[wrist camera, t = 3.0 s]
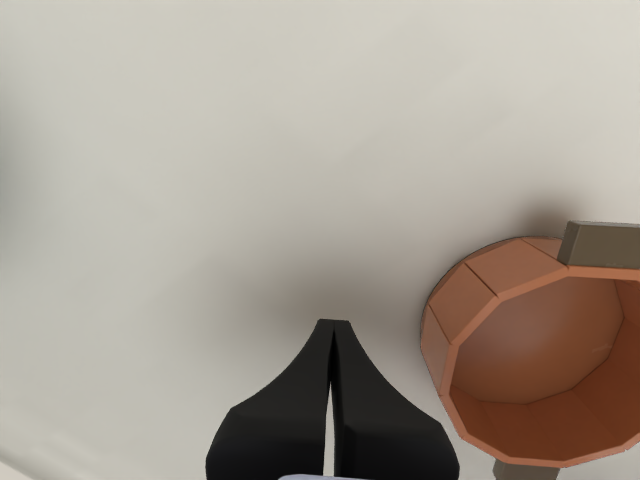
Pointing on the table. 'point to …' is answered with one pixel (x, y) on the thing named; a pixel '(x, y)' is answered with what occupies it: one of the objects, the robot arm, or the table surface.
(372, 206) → the table surface
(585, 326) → the pan
